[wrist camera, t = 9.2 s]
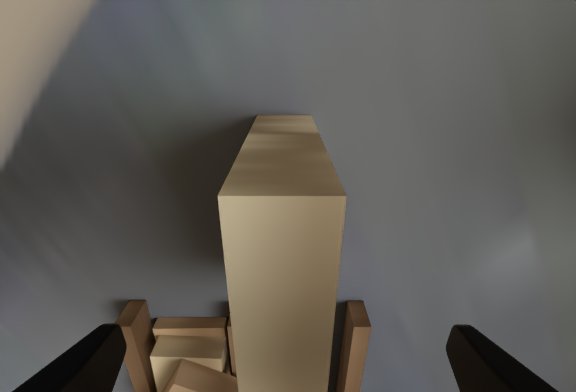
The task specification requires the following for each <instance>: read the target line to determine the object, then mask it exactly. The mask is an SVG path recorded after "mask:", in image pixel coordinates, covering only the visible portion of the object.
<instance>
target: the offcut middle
mask: <svg viewBox="0 0 576 392" xmlns="http://www.w3.org/2000/svg"><path fill="white" fill-rule="evenodd" d="M182 359H185V360H188V361H191V362H194V363H197V364H200V365H202V366H205V367H208V368H211V369H214V370H217V371H220V372H223V373H225V374H228V370H227V348H226V337H205V336H176V335H159V337H158V340H157V342H156V344H155V346H154V348H153V351H152V353H151V355H150V360H151V365H152V369H153V374H154V379H155V384H156V389H157V392H162V390H163V389H164V387H165V386H166V384H167V382H168V381H169V379H170V378H171V376H172V374H173V373H174V371H175V370H176V368H177V366H178V365H179V363H180V362H181V360H182Z"/></svg>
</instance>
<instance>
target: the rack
mask: <svg viewBox="0 0 576 392" xmlns="http://www.w3.org/2000/svg"><path fill="white" fill-rule="evenodd" d="M115 324H119V325H120V326H121V328H122V331H123V334H124V338H125V341H126V344H127V350H126V354H125V357H124V361H125V364H126V367H127V370H128V373H129V376H130V379H131V382H132V385H133V388H134V391H135V392H157V389H156V384H155V379H154V374H153V369H152V365H151V360H150V355H151V353H152V351H153V348H154V346H155V344H156V340H155V336H154V333H153V330H152V329H153V327H152V323H151V319H150V315H149V311H148V307H147V304H146V300H130V301H129V302H128V304H127V305H126V307H125V308H124V310H123V312H122V313H121V315H120V316H119V318H118V319H117V321H116V322H115ZM227 329H228V338H229V347H230V356H231V366H232V375H233V376H234V377H237V373H236V364H235V355H234V345H233V336H232V327H231V317H229V321H228V326H227ZM370 332H371V324H370V321H369V318H368V315H367V312H366V309H365V305H364V302H363V301H347V308H346V316H345V324H344V332H343V340H342V348H341V356H340V364H339V372H338V379H337V387H336V392H360V387H361V382H362V376H363V370H364V365H365V359H366V354H367V348H368V343H369V337H370Z"/></svg>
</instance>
